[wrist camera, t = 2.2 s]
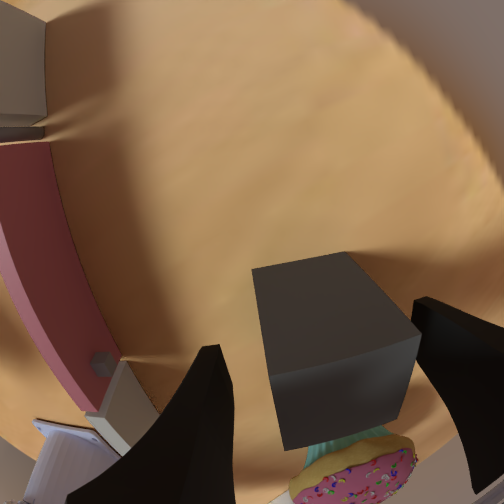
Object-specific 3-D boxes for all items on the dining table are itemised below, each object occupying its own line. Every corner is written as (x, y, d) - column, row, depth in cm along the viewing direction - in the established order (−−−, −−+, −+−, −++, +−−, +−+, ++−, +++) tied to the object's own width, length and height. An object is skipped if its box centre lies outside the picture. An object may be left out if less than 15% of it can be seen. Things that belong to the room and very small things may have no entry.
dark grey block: (345, 326, 13) (396, 418, 7) (265, 343, 13) (284, 451, 7) (344, 251, 12) (421, 333, 6) (251, 269, 12) (268, 376, 6)
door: (134, 354, 13) (113, 413, 9) (106, 356, 13) (81, 410, 9) (62, 134, 9) (-1, 137, 5) (33, 149, 9) (-29, 159, 5)
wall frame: (160, 416, 15) (148, 478, 10) (143, 416, 15) (130, 476, 10) (45, 22, 6) (-14, -6, 2) (28, 34, 6) (-33, 13, 2)
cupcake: (409, 407, 17) (467, 522, 5) (330, 461, 19) (359, 569, 7) (349, 376, 14) (423, 557, 3) (256, 443, 16) (272, 591, 5)
